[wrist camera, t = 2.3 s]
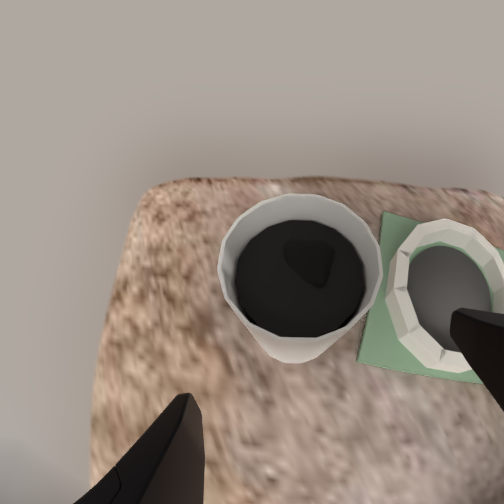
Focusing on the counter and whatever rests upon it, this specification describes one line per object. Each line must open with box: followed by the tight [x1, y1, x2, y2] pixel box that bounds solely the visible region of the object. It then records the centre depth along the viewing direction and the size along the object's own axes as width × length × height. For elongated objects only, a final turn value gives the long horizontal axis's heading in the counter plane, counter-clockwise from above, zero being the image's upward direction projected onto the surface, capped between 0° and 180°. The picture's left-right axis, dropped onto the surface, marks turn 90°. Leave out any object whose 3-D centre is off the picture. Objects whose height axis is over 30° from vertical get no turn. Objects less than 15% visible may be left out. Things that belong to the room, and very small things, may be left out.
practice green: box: [356, 211, 504, 384], centre depth 17 cm, size 21×13×3 cm, turn 70°
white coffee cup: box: [217, 193, 383, 364], centre depth 15 cm, size 7×7×10 cm
